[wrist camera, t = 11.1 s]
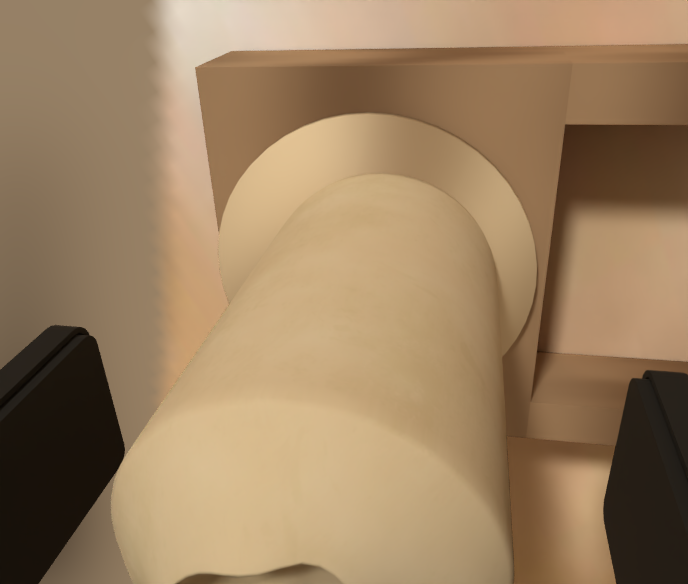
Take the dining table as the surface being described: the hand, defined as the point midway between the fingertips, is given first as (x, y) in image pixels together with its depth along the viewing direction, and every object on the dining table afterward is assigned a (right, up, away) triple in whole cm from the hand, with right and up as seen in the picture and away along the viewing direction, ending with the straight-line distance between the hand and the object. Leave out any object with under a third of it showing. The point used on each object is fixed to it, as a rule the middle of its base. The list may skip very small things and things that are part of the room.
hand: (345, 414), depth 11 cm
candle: (+1, +3, +5) cm, 6 cm away
